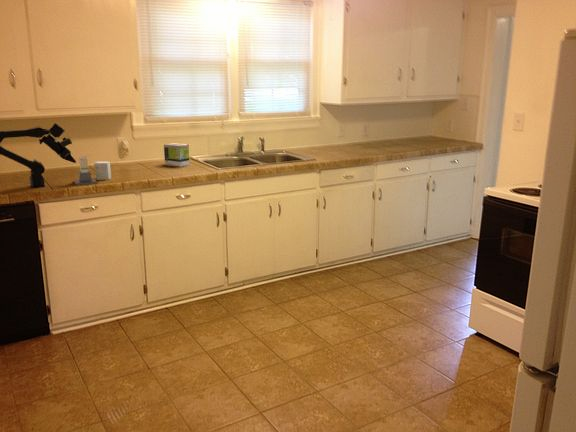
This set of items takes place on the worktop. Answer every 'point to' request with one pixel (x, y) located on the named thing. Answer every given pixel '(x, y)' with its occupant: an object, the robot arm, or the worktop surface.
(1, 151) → the robot arm
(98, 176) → the small box
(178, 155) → the tea box
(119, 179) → the worktop surface
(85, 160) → the white tall block
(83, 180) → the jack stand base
